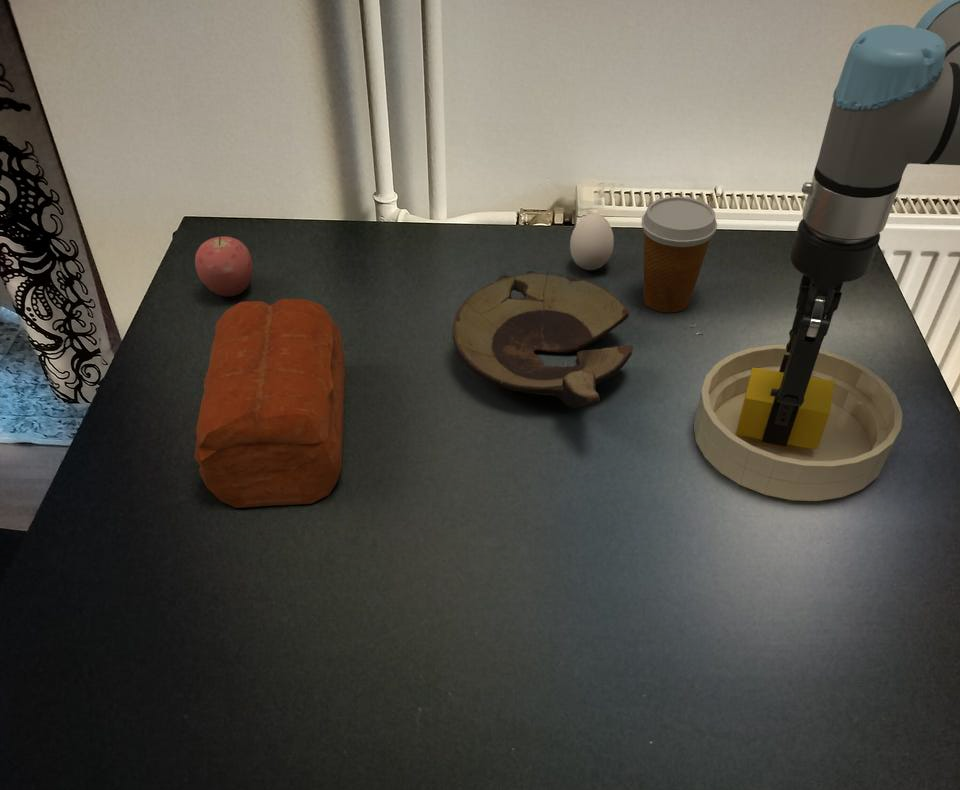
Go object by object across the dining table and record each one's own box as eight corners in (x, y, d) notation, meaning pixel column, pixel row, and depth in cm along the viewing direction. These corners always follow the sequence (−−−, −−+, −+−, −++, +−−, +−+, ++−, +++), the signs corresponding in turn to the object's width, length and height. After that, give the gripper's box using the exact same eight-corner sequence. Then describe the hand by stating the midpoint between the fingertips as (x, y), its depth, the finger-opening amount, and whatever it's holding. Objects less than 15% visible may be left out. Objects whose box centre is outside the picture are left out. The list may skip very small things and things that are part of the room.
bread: (202, 511, 96) (174, 433, 88) (226, 366, 113) (205, 288, 105) (345, 503, 97) (332, 425, 89) (349, 359, 113) (337, 282, 105)
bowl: (888, 402, 107) (905, 363, 103) (879, 523, 94) (898, 484, 90) (709, 370, 111) (718, 331, 107) (677, 481, 99) (686, 442, 94)
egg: (598, 283, 124) (604, 230, 118) (560, 271, 126) (564, 218, 120) (618, 264, 127) (624, 211, 121) (580, 252, 129) (585, 200, 123)
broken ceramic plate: (629, 310, 120) (636, 256, 114) (628, 456, 101) (637, 400, 95) (465, 302, 121) (464, 248, 115) (435, 444, 103) (431, 388, 97)
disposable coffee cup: (624, 312, 119) (635, 225, 110) (639, 276, 125) (651, 190, 116) (694, 325, 117) (712, 236, 108) (707, 287, 123) (724, 200, 114)
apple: (265, 279, 125) (253, 224, 119) (249, 308, 121) (235, 252, 115) (214, 276, 126) (200, 220, 120) (197, 304, 122) (180, 248, 115)
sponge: (821, 417, 103) (834, 381, 99) (816, 450, 99) (830, 413, 95) (743, 403, 104) (752, 367, 100) (735, 434, 101) (745, 398, 97)
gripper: (809, 175, 90) (755, 370, 108) (789, 269, 79) (732, 470, 97) (886, 185, 88) (818, 382, 106) (877, 283, 77) (802, 484, 95)
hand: (777, 423), depth 102 cm, fingers closed on sponge, 6 cm apart
